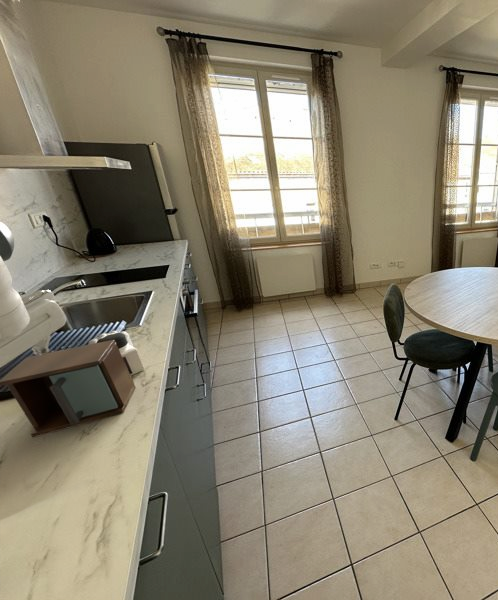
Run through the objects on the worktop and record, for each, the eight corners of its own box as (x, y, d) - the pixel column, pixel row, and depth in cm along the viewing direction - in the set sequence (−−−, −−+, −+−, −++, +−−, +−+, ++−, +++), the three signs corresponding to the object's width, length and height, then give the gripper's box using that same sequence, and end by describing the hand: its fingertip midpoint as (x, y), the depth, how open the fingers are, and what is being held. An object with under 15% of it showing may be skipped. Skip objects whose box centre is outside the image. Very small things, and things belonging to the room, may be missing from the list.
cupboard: (32, 437, 78) (-3, 382, 72) (55, 407, 88) (26, 357, 82) (123, 412, 85) (98, 360, 79) (135, 387, 95) (114, 339, 89)
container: (145, 369, 104) (130, 333, 98) (116, 382, 98) (98, 345, 93) (135, 363, 107) (120, 327, 102) (106, 375, 102) (88, 338, 96)
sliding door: (65, 431, 78) (39, 386, 73) (74, 417, 82) (50, 374, 77) (111, 418, 81) (89, 375, 76) (118, 406, 85) (98, 364, 80)
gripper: (32, 280, 64) (53, 330, 71) (-115, 353, 47) (-66, 408, 55) (65, 290, 64) (82, 339, 72) (-67, 366, 47) (-26, 419, 55)
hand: (17, 369), depth 63 cm, fingers open, 8 cm apart
